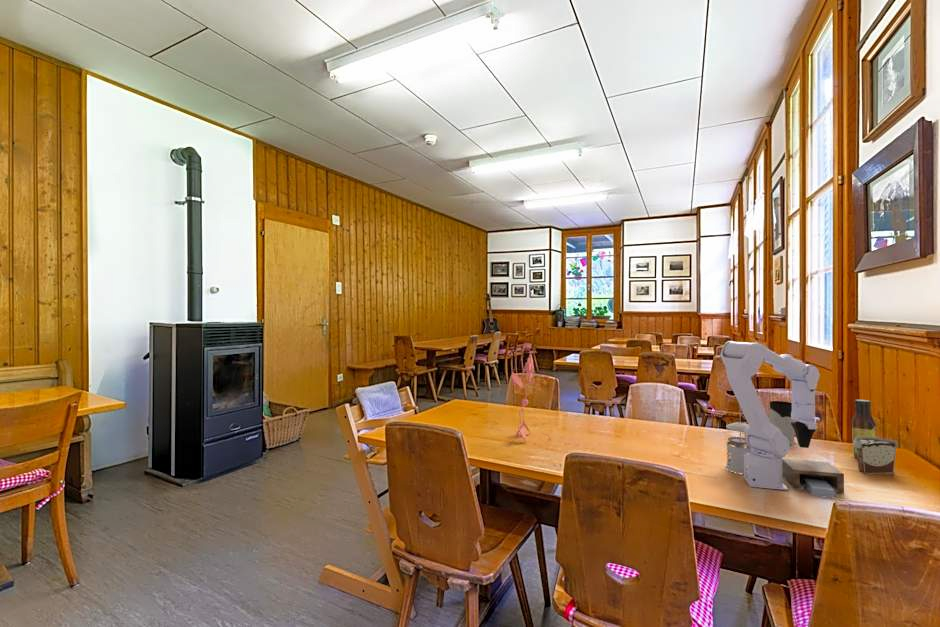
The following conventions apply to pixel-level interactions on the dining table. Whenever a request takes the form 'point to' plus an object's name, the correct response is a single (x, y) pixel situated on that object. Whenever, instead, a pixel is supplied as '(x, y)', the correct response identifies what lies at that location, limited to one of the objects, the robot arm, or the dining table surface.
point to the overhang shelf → (812, 473)
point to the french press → (737, 448)
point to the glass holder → (782, 418)
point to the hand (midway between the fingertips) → (803, 447)
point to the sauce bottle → (862, 422)
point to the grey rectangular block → (819, 488)
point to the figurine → (517, 380)
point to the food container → (875, 454)
